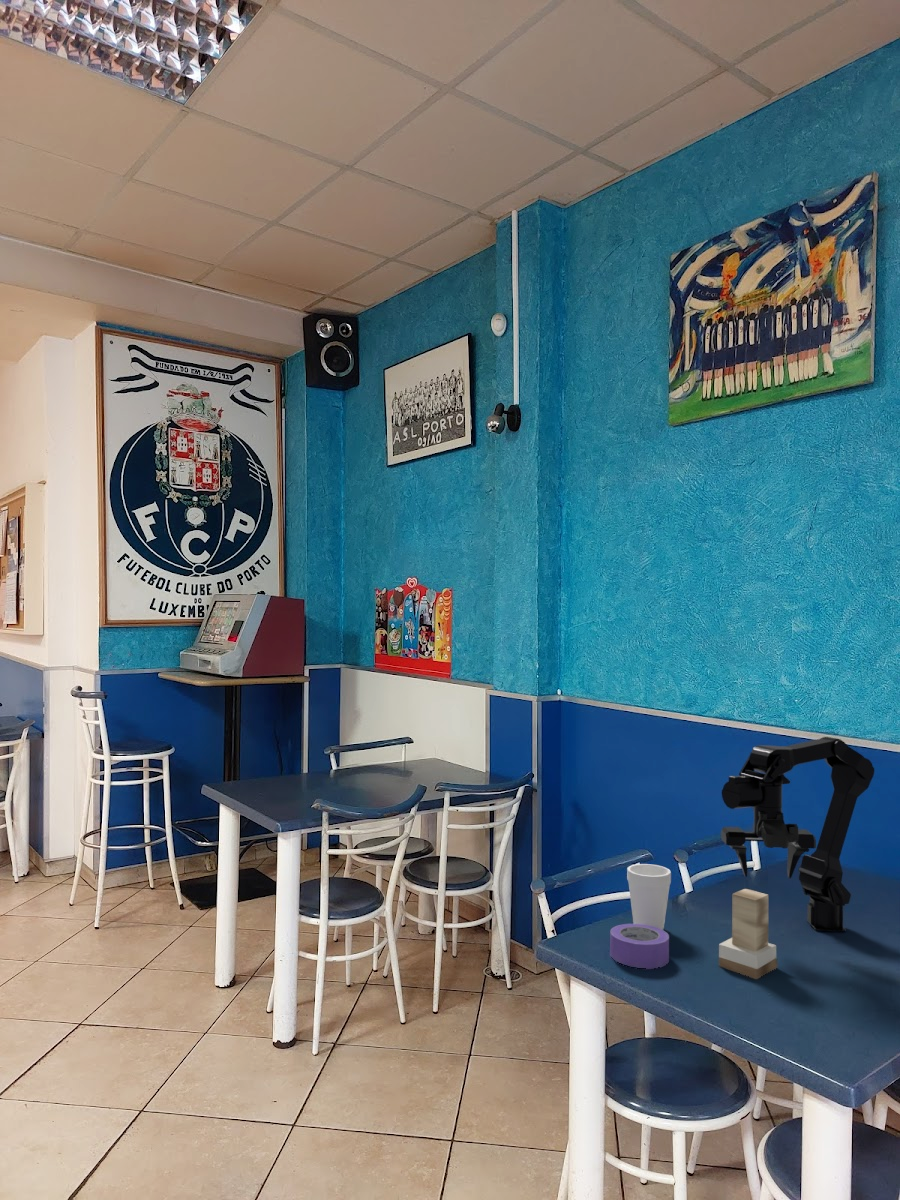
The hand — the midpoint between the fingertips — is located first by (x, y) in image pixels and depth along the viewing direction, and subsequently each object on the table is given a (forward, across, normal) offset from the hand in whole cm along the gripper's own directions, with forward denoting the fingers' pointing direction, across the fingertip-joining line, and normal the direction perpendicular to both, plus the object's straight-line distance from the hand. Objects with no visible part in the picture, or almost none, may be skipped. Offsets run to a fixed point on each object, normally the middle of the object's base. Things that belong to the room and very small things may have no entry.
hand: (767, 877), depth 187 cm
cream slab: (+11, -8, -16) cm, 22 cm away
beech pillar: (+9, -8, -16) cm, 20 cm away
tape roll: (+14, -29, -14) cm, 35 cm away
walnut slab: (+14, -8, -16) cm, 23 cm away
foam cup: (+13, -25, +2) cm, 28 cm away
